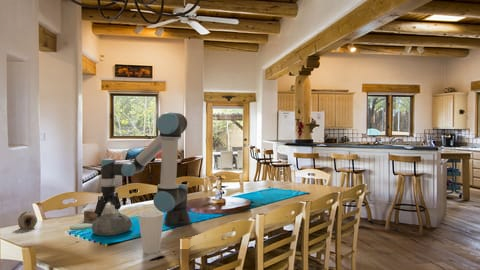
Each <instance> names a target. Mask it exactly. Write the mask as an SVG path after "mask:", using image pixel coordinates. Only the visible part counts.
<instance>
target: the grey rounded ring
mask: <svg viewBox="0 0 480 270" xmlns="http://www.w3.org/2000/svg"><path fill="white" fill-rule="evenodd" d="M37 218H38V217H37V216H36V214H35V213H32V211H24V212H22V213H21V214H20V215H19V216H18V218H17V222H18V227H19V229H21V230H25V231H26V229H27V230H31V229H33V228H35V227H36V225H37V223H38V219H37Z"/></svg>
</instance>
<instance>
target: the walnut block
mask: <svg viewBox="0 0 480 270" xmlns="http://www.w3.org/2000/svg"><path fill="white" fill-rule="evenodd" d="M95 209H96V208H89V209H85V210H83V219H84V221H95V220H96V219H97V218H98V215H97V214H95V213H94V212H95Z"/></svg>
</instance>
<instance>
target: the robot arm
mask: <svg viewBox="0 0 480 270" xmlns="http://www.w3.org/2000/svg"><path fill="white" fill-rule="evenodd" d="M156 128H157V130H158V132H159V134H158V135H157V136H156V137H155V139H153V140H152V141H151V142H150V143H149V144H148V145H147V146H146V147H144V149H143V150H142V151H140V152H139V154H138V155H136V157H134V159H133V160H131V161H126V162H116V159H115V158H103V159H101V160H100V161H101V162H100V164H101V165H100V173H101V180H100V181H101V187H100V189H101V190H100V192H101V195H98V196H97V203H96V205H95V208H94V209H95V212H94V213H95V214H97V215H98V217H100V216H102V215H103V214H102V212H103V210H104V208H105V205H108V203H111V205H114V206H115V213H116V212H119V210H120V209H121V207H122V204H121V201H120V198H119V193H118V192H117V191H116V177H117V176H120V177H132V176H134V174H139V173H141V172H143V171H144V170H145V167H146V166H147V165H148V164H149V163H150V162H151V161H152V160H153V159H154V158H155V157H156V156H157V155H158V154H159V153H160V152H161V161H160V162H161V163H160V164H161V165H160V183H159V184H158V185H157V187H156V190H157V191H156V193H155V194H154V197H153V199H152V200H153V205H154V207H155V208H156V209H157V210H158V211H159V212H162V213H166V214H165V216H164V219H163V224H164V225H165V226H168V227H183V226H187V225H189V224H191V217H190V214H189V211H188V191H189V190H188V186H187V185H186V184H181V183H177V174H178V173H177V171H178V151H179V150H178V148H179V140H181V138H182V134H183V133H184V132H185V131H186V129H187V128H188V120H187V118H186V116H185V115H184V114H181V113H177V112H172V111H171V112H163V113H162V114H160V115H159V117H157V121H156Z"/></svg>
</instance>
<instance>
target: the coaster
mask: <svg viewBox="0 0 480 270" xmlns="http://www.w3.org/2000/svg"><path fill="white" fill-rule="evenodd" d="M92 224H93V223H87V222H83V223H76V224H74V225H71V226H70V227H69V229H70V230H73V231H81V230H82V231H83V230H87V229H92Z"/></svg>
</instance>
